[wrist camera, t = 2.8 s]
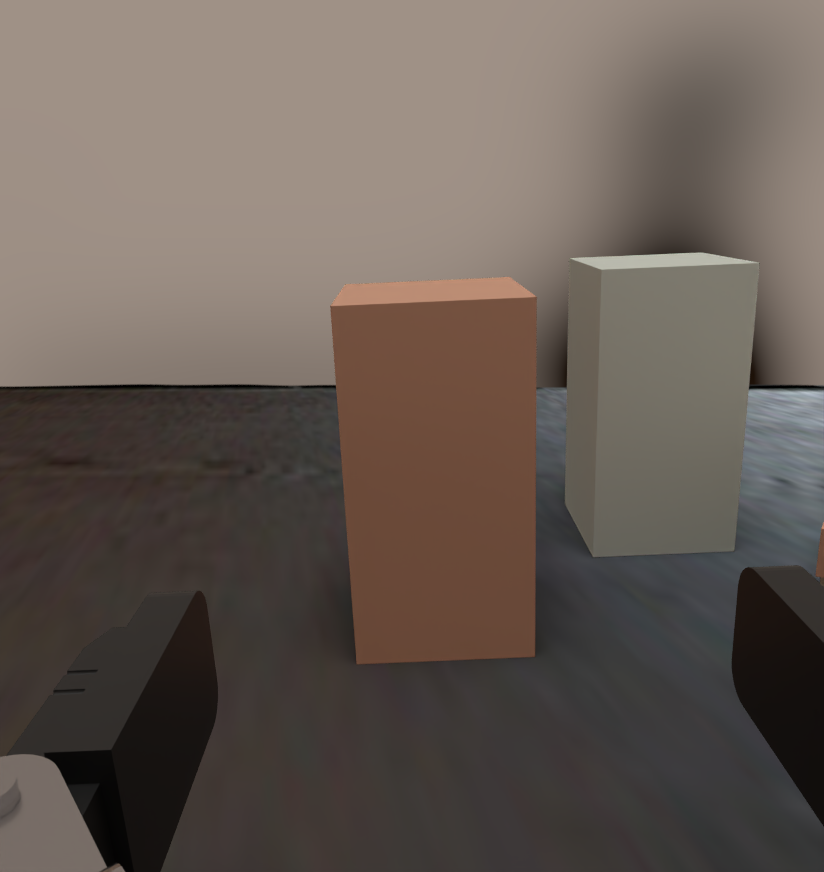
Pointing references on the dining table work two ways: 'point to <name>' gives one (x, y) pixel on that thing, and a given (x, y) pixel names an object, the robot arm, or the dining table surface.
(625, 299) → the sage block
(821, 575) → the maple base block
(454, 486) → the terracotta block
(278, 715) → the dining table surface
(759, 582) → the robot arm
